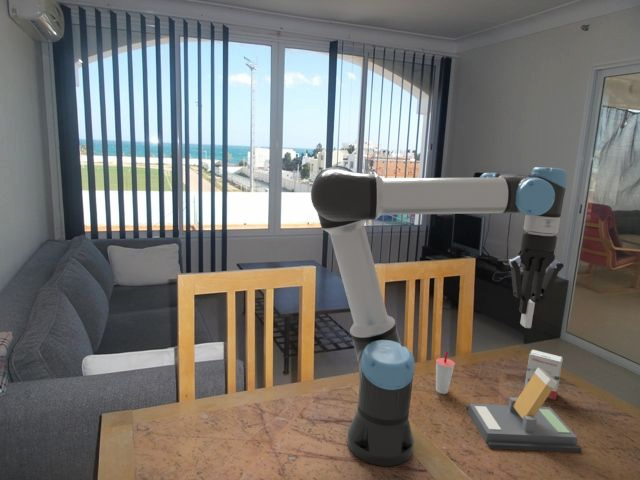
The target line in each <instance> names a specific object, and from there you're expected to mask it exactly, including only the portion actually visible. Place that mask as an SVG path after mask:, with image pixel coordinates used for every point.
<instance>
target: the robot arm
mask: <svg viewBox="0 0 640 480" xmlns="http://www.w3.org/2000/svg"><path fill="white" fill-rule="evenodd" d="M567 175H568V173H567V171H566V169H563V168H557V167H545V166H543V167H542V166H541V167H540V166H535V167H533V169H532V171H531V173H530V174H517V173H506V172H505V173H502V172H495V171H494V172H484V173H482V174H481V175H480V176H479V177H417V178H416V177H415V178H414V177H409V178H408V177H406V178H403V177H402V178H400V177H398V178H395V177H393V178H391V177H389V178H386V177H385V178H383V177H381V176H379V175H378V174H377V173H363V172H357V171H356V172H355V171H353V170H352V169H350V168H348V167H346V166H342V165H334V166H330V167H326V168H324V169H323V170H321V171H320V172H319V173H318V174H317V175H316V176H315V178H314V180H313V183H312V187H311V190H310V199H311V203H312V206H313V207H314V210H315V211H316V213H317V216H318V220H319V222H320V227H321V230H322V231H325V232H326V233H328V234H329V236H330V239H331V243H332V248H333V251H334V254H335V259H336V262H337V264H338V265H337V266H338V270H339V273H340V276H341V281H342V284H343V287H344V291H345V295H346V299H347V302H348V307H349V309H350V313H351V318H352V322H353V324H351V327H350V329H349V332H350V336H351V339H352V343H353V344H352V345H353V347H354V351H355V355H356V359H357V367H358V374H359V388H358V400H357V410H356V411H355V414H354V417H353V419H352V421H351V423H350V425H349V427H348V431H347V436H346V437H347V439H346V443H347V447H348V449H349V450H350V452H351V453H352V454H353V455H354V456H356V457H357V458H358V459H360V460H361V461H364V462H365V463H368V464H371V465H376V466H381V467H394V466H398V465H401V464H404V463H405V462H407V461H408V460H410V458H411V457H412V454H413V450H414V437H413V432H412V428H411V424H410V420H409V417H410V409H411V408H410V407H411V399H412V398H411V397H412V389H413V382H414V376H415V371H416V369H415V368H416V367H415V357H414V355H413V353H412V352H411V350H410V349H409V348H408V347H406V346H405V345H402V342H401V338H400V335H399V331H398V327H397V323H396V320H395V318H393V316H390V315H388V314H387V309H386V305H385V301H384V297H383V293H382V291H381V285H380V282H379V276H378V275H377V270H376V266H375V262H374V257H373V254H372V250H371V246H370V242H369V239H368V234H367V231H366V227H365V224H366V222H367V221H369V220H370V221H371V220H372V221H374V220H375V221H376V220H378V219H379V217H381V216H388V215H389V216H390V215H391V216H392V215H395V216H396V215H398V216H399V215H451V214H452V215H453V214H462V215H463V214H464V215H465V214H468V215H469V214H523V215H525V216H524V217H525V218H524V223H523V230H524V232H522V237H521V244H520V250H519V251H518V254H517V255H516V256H515V257H513V258H508V259H507V264H508V265H509V267H510V274H511V284H512V285H511V286H512V293H513V296H514V298H517V299H518V300H520V301H519V308H518V312H519V313H521V316H520V321H519V323H520V325H521V326H522V327H524V328H525V329H531V328H532V324H533V316H534V315H536V314H537V313H538V308H539V304H541V303H542V301H547V300H548V298H549V295H550V293H551V291H552V288H553V286H554V284H555V281H556V279H557V276H558V274H559V272H560V271H561V270H562V269H563V268H564V263H562V262H560V261H558V260H557V259H556V255H555V251H556V247H557V240H558V237H557V235H556V234H558V233H559V228H560V223H561V217H562V212H563V211H562V210H563V204H564V198H565V192H566V190H567V181H568V179H567V178H568V176H567ZM521 265H522V266H523V269H522V271H523V276H522V277H521V268H520V267H521ZM548 267H549V268H548ZM547 268H548V269H547ZM546 271H547V272H546ZM521 278H522V279H521Z"/></svg>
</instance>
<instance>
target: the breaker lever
mask: <svg viewBox="0 0 640 480" xmlns="http://www.w3.org/2000/svg"><path fill="white" fill-rule="evenodd" d="M556 384H557V382H556V381H555V380H554V379H553V378H552V377H550V376H549V375H548V374H547V373H546V372H545V371H544V370H542V369H540V368H537V369H536V371H535V372H534V374H533V376H532V378H531V379H530V381H529V382H528V384H527V385H526V387H525V386H524V387H525V388H523V389H522V392H521V393H520V395H519V396H518V397H517V398H518V399H517V400H516V402H515V404H514V405H513V407H514V409H515V410H516V412H517V413H518V414H519V416H520V417H521V418H522V419H523V418H524V416H535V415H536V413H537V412H538V410H539V409H540V407H543V404H544V403H545V401H546V399H548V398H547V397H548V395H549V394H550V392H551V391H552V389H553V388H554V387H555V386H556Z"/></svg>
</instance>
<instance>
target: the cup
mask: <svg viewBox="0 0 640 480" xmlns="http://www.w3.org/2000/svg"><path fill="white" fill-rule="evenodd" d="M435 362H436V363H435V391H436V393H438V394H442V395H447V394H448V392H449V388H450V385H451V381H452V377H453V372H454V368H455V366H456V363H455V361H453V360H452V359H448V352H446V351H445V353H444V357H438V358H436V359H435Z"/></svg>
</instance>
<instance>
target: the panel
mask: <svg viewBox="0 0 640 480" xmlns="http://www.w3.org/2000/svg"><path fill="white" fill-rule="evenodd" d="M517 399H518V397H511V396H509V397H508V402H507V403H508V404H489V403H471V402H470V403H468V405H467V406H468V411H467V413H468V415H469V416H470V418H471V420H472V422H473V423H474V425H475V427H476V428H477V430H478V432H479V433H480V436H481V437H482V439H483V440H484V442H485V443H486V444H488V442H509V443H532V444H555V445H577V444H578V436H577V434H575V433H574V432H573V430H572V429H571V428H570V427H569V426H568V425H567V424H566V423H565V422H564V421H563V420H562V419H561V417H560V416H559V415H558V414H557V413H556V412H555V411H554V410H553V408H551V407H550V406H541V407H540V409H539V410H538V412H537V413H536V415H535V416H524V418H523V419H522V418H521V417H520V416H519V414H518V413H517V412H516V410H515V409H514V407H513V405H514V404H515V402H516V400H517Z"/></svg>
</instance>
